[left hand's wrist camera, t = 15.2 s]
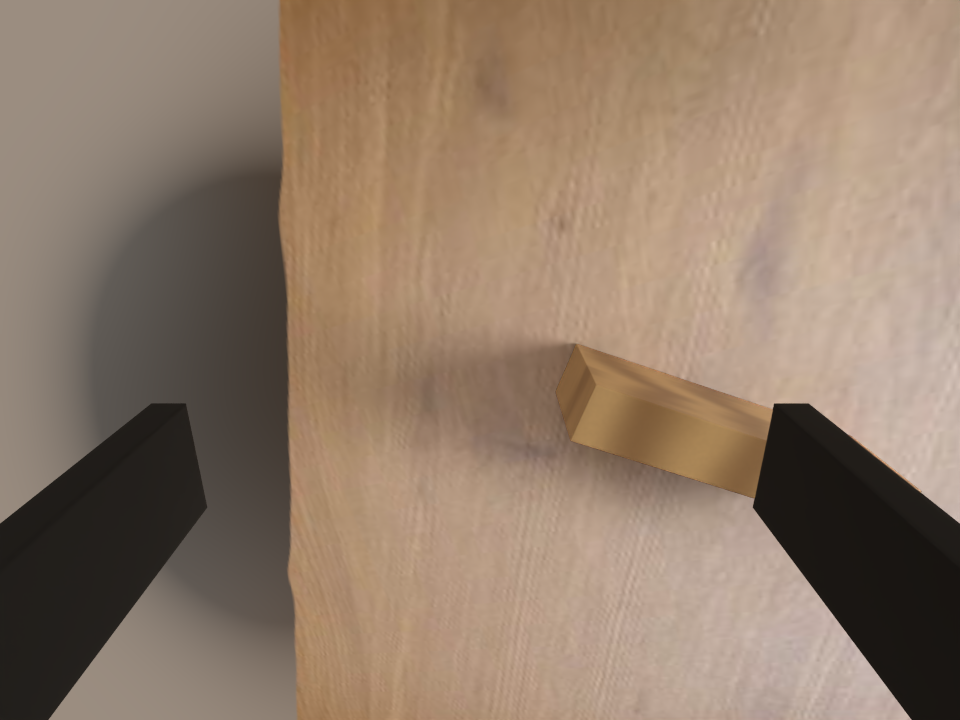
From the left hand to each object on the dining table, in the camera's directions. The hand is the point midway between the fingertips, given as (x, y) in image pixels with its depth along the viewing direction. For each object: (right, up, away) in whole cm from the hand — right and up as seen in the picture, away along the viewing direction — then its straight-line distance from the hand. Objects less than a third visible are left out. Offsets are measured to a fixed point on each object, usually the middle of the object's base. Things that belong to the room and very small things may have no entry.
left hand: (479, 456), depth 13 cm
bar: (+19, -2, +34) cm, 39 cm away
